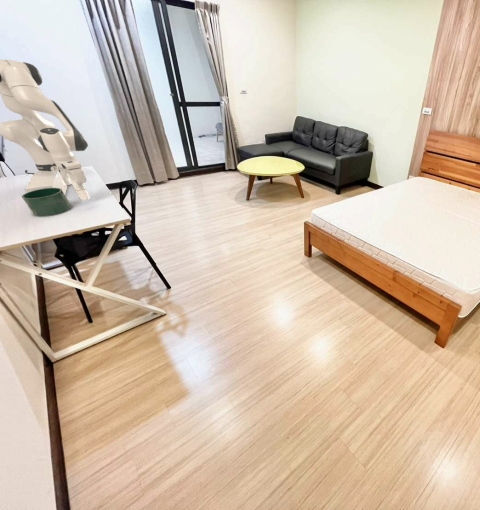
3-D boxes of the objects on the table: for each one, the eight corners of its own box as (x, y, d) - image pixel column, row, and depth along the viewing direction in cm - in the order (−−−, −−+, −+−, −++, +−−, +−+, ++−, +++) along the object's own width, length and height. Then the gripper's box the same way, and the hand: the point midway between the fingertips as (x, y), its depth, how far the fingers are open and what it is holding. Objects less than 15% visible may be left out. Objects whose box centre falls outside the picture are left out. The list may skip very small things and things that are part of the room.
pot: (28, 211, 144) (16, 194, 138) (64, 202, 155) (54, 185, 149) (40, 219, 138) (28, 201, 132) (76, 208, 149) (67, 191, 143)
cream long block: (45, 189, 169) (35, 172, 163) (67, 186, 174) (58, 170, 168) (37, 207, 148) (24, 189, 142) (62, 203, 153) (51, 185, 147)
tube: (84, 200, 151) (70, 174, 142) (78, 199, 152) (64, 173, 143) (91, 197, 154) (78, 171, 146) (85, 196, 155) (72, 170, 146)
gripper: (49, 159, 143) (63, 184, 151) (67, 167, 135) (81, 193, 143) (64, 157, 148) (77, 181, 156) (82, 164, 140) (94, 189, 148)
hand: (79, 187), depth 149 cm, fingers closed on tube, 4 cm apart
